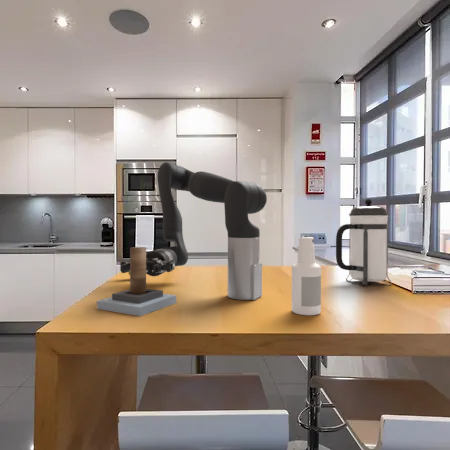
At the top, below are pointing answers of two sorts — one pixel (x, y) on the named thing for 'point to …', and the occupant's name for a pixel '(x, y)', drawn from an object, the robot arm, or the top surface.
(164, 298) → the socket
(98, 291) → the top surface
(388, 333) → the top surface
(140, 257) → the peg
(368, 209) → the coffee press
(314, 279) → the spray bottle
